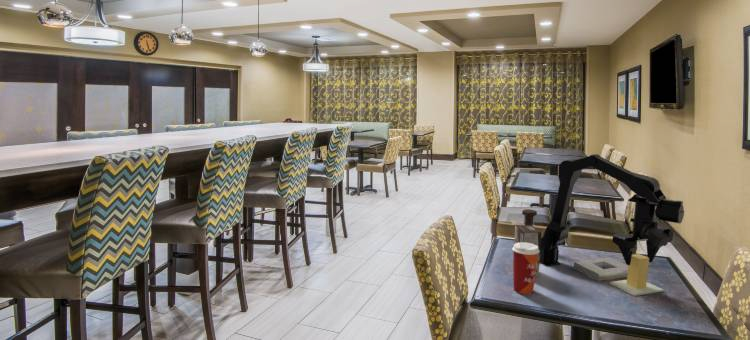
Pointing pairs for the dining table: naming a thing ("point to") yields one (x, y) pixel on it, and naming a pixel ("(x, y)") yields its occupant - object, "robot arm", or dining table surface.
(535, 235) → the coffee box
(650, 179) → the robot arm
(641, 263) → the peg
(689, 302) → the dining table surface
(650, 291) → the pad
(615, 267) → the square hole plate
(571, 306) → the dining table surface
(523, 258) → the coffee cup
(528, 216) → the bolt
